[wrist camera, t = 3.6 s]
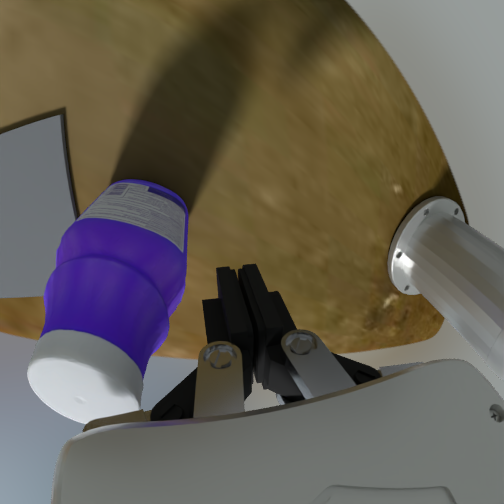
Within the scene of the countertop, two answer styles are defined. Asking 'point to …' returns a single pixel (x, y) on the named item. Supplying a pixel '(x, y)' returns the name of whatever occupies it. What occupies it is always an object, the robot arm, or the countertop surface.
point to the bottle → (110, 300)
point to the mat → (33, 205)
